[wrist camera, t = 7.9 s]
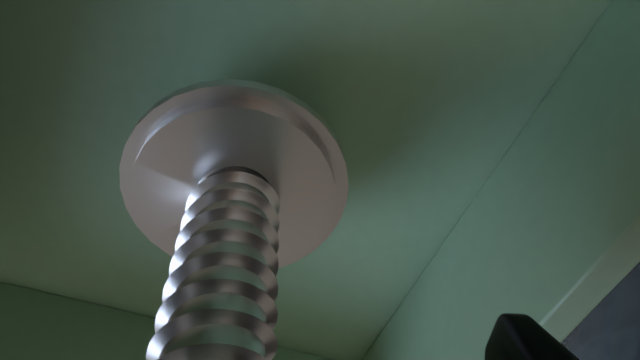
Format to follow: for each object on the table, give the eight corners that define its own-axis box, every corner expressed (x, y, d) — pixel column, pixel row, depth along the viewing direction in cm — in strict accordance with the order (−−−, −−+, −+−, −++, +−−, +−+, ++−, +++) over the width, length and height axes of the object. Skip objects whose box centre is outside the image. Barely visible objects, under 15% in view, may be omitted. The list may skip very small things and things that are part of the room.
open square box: (365, 364, 19) (389, 521, 15) (-80, 259, 16) (-226, 429, 11) (669, -68, 12) (904, -8, 7) (-59, -475, 8) (-492, -861, 4)
